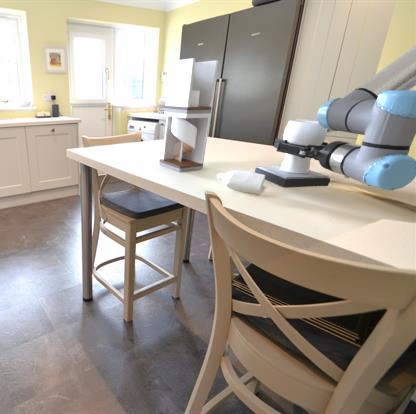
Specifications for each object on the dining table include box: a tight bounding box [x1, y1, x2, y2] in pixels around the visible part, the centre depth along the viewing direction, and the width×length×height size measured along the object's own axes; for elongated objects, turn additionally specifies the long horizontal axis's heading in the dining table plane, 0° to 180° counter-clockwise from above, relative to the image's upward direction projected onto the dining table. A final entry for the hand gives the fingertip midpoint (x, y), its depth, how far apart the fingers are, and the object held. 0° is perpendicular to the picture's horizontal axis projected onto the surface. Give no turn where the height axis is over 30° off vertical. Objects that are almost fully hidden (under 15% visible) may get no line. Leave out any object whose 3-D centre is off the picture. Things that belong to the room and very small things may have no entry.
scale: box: [254, 165, 331, 188], centre depth 91 cm, size 16×14×3 cm
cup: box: [280, 119, 328, 174], centre depth 87 cm, size 11×11×15 cm
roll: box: [216, 169, 266, 196], centre depth 80 cm, size 6×12×6 cm, turn 55°
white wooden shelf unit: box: [158, 57, 220, 173], centre depth 98 cm, size 11×11×35 cm
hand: (293, 143), depth 91 cm, fingers closed on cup, 11 cm apart
